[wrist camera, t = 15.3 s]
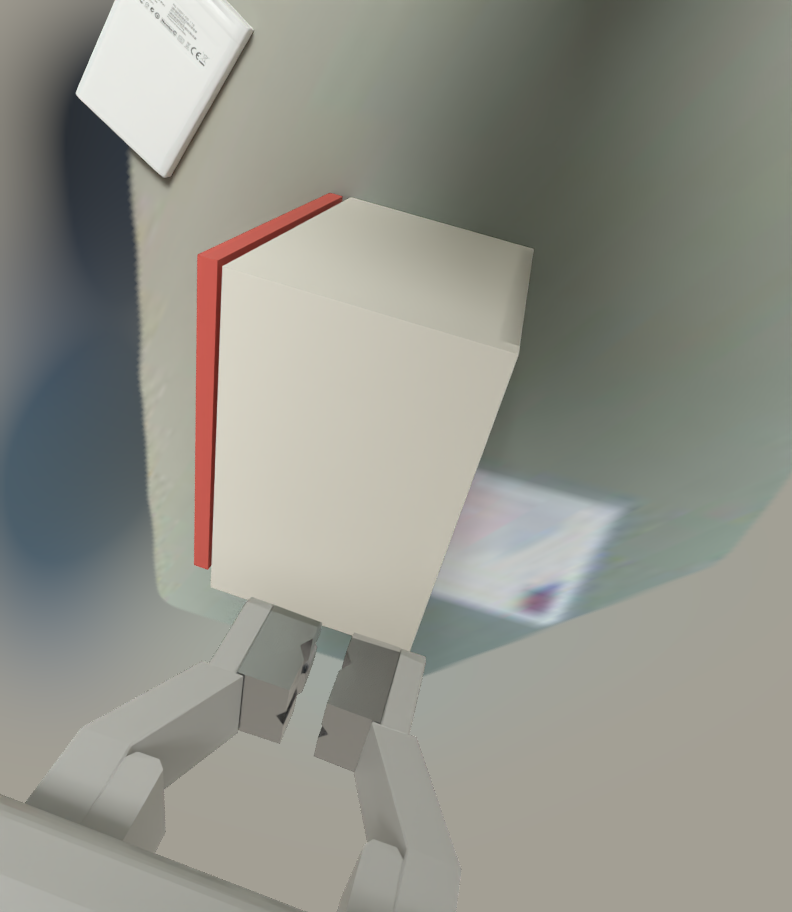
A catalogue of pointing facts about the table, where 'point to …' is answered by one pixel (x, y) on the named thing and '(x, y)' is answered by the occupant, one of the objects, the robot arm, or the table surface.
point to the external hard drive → (161, 72)
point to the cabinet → (357, 409)
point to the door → (209, 356)
